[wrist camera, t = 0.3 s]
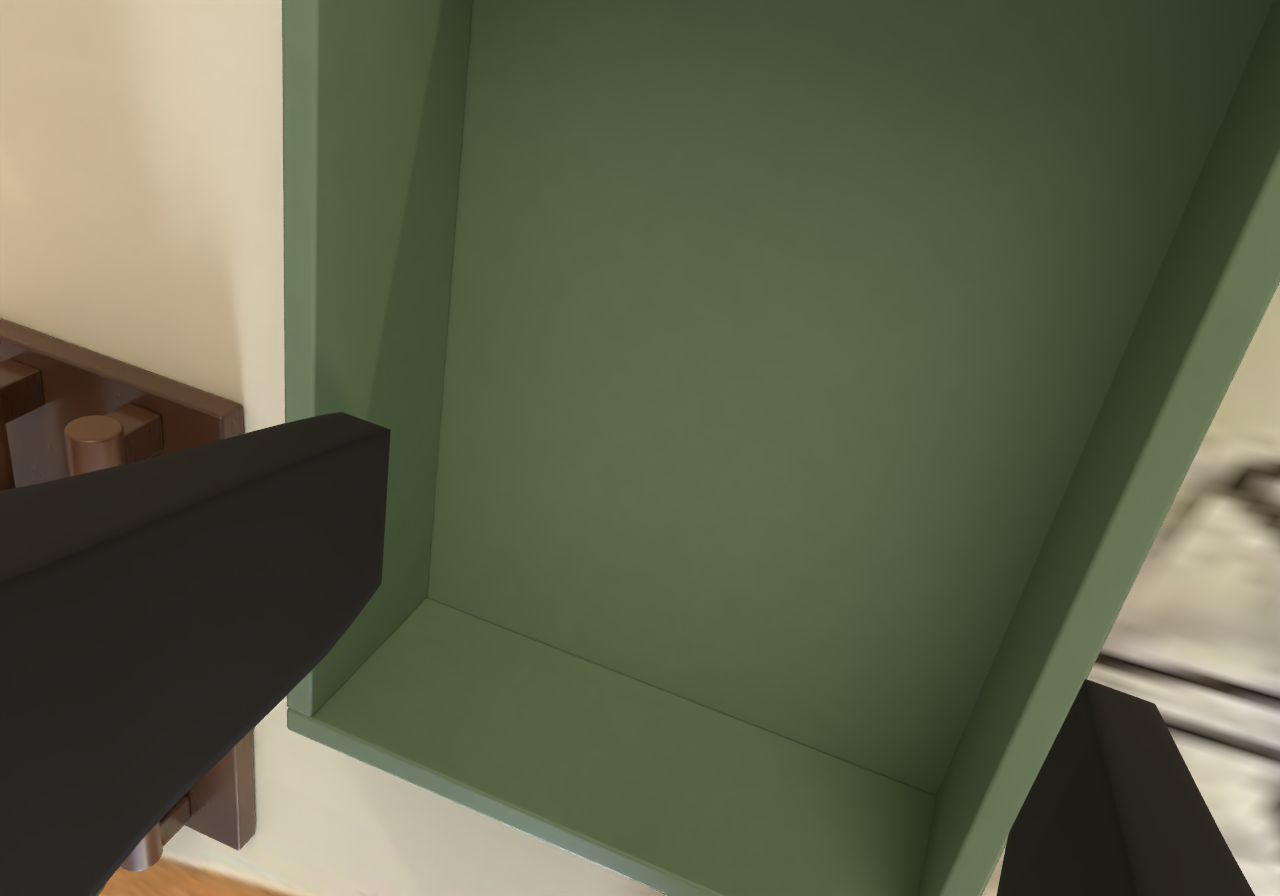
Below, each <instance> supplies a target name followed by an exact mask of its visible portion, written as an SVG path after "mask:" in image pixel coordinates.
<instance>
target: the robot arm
mask: <svg viewBox="0 0 1280 896" xmlns="http://www.w3.org/2000/svg"><path fill="white" fill-rule="evenodd" d="M390 433H391V429H388V428H385V427H382V426H380V425H377V424H374V423H371V422H368V421H366V420H363V419H360V418H357V417H355V416H352V415H349V414H346V413H343V412H337V413H331V414H325V415H320V416H315V417H310V418H306V419H301V420H297V421H293V422H289V423H285V424H281V425H276V426H273V427H269V428H265V429H261V430H257V431H253V432H249V433H246V434H242V435H238V436H234V437H230V438H227V439H223V440H219V441H215V442H211V443H207V444H203V445H200V446H196V447H192V448H188V449H184V450H180V451H177V452H173V453H169V454H165V455H161V456H157V457H153V458H149V459H145V460H141V461H137V462H132V463H128V464H124V465H119V466H115V467H110V468H106V469H101V470H97V471H92V472H88V473H84V474H79V475H75V476H70V477H66V478H61V479H57V480H52V481H48V482H44V483H39V484H34V485H29V486H24V487H18V488H13V489H8V490H2V491H0V896H95V895H96V894H97V893H98V892H99V891H100V889H101V888H102V887H103V886H104V885H105V883H106V882H107V881H108V880H109V879H110V877H111V876H112V875H113V874H114V873H115V871H116V870H117V869H118V868H119V867H120V866H121V864H122V863H123V862H124V861H125V860H126V858H127V857H128V856H129V855H130V854H131V852H132V851H133V850H134V849H135V848H136V846H137V845H138V844H139V843H140V842H141V840H142V839H143V838H144V837H145V836H146V835H147V834H148V833H149V832H150V831H151V829H152V828H153V827H154V826H155V825H156V824H157V823H158V822H159V821H160V820H161V819H162V818H163V817H164V816H165V815H166V814H167V813H168V811H169V810H170V809H171V808H172V807H173V806H174V805H175V804H176V803H177V802H178V801H179V800H180V799H181V798H182V797H183V796H184V795H185V794H186V793H187V792H188V791H189V790H190V789H191V788H192V787H193V786H194V785H195V784H196V783H197V782H198V781H199V780H200V779H201V778H203V777H204V776H205V775H206V774H207V773H208V772H209V771H210V770H211V769H212V768H213V767H214V766H215V765H216V764H217V763H218V762H219V761H220V760H221V759H222V758H223V757H224V756H225V755H226V754H227V753H228V752H229V751H230V750H231V749H232V748H233V747H234V746H235V745H236V744H237V743H238V742H239V741H240V740H241V739H243V738H244V737H245V736H246V735H247V734H248V733H249V732H250V731H251V730H252V729H253V728H254V727H255V726H256V725H257V724H258V723H259V722H260V721H261V720H262V719H263V718H264V717H265V716H266V715H267V714H268V713H269V712H270V711H271V710H272V709H273V708H274V707H275V706H276V705H277V704H278V703H279V702H280V701H281V700H282V699H283V698H284V697H285V696H286V695H287V694H288V693H289V692H290V691H291V690H292V689H293V688H294V687H295V686H296V685H297V684H299V683H300V682H301V681H302V680H303V679H304V678H305V677H306V676H307V675H308V674H309V673H310V672H311V671H312V670H313V669H314V667H315V666H316V665H317V664H318V663H319V662H320V661H321V660H322V659H323V658H324V657H325V656H326V655H327V654H328V653H329V652H330V650H331V649H332V648H333V647H334V645H335V644H336V643H337V642H338V640H339V639H340V638H341V637H342V635H343V634H344V633H345V632H346V630H347V629H348V628H349V627H350V625H351V624H352V623H353V622H354V620H355V619H356V617H357V616H358V615H359V613H360V612H361V611H362V609H363V608H364V607H365V605H366V604H367V603H368V601H369V600H370V599H371V597H372V596H373V595H374V593H375V592H376V590H377V589H378V588H379V586H380V585H381V584H382V568H383V551H384V535H385V518H386V501H387V484H388V467H389V450H390ZM997 896H1255V895H1254V893H1253V891H1252V889H1251V887H1250V886H1249V884H1248V882H1247V880H1246V878H1245V877H1244V875H1243V873H1242V871H1241V869H1240V868H1239V866H1238V864H1237V862H1236V860H1235V859H1234V857H1233V855H1232V853H1231V851H1230V849H1229V847H1228V846H1227V844H1226V842H1225V840H1224V838H1223V836H1222V834H1221V832H1220V830H1219V828H1218V827H1217V825H1216V823H1215V821H1214V819H1213V817H1212V815H1211V813H1210V811H1209V809H1208V807H1207V805H1206V803H1205V801H1204V799H1203V797H1202V795H1201V793H1200V792H1199V790H1198V788H1197V786H1196V784H1195V782H1194V780H1193V778H1192V776H1191V774H1190V772H1189V770H1188V768H1187V766H1186V764H1185V762H1184V760H1183V758H1182V756H1181V754H1180V752H1179V750H1178V748H1177V746H1176V744H1175V742H1174V740H1173V738H1172V736H1171V734H1170V732H1169V730H1168V728H1167V726H1166V724H1165V722H1164V720H1163V718H1162V716H1161V714H1160V712H1159V711H1158V709H1157V707H1156V705H1155V704H1154V703H1151V702H1148V701H1145V700H1143V699H1140V698H1137V697H1134V696H1132V695H1129V694H1126V693H1123V692H1120V691H1118V690H1115V689H1112V688H1109V687H1107V686H1104V685H1101V684H1098V683H1095V682H1093V681H1090V680H1087V679H1085V680H1084V682H1083V684H1082V686H1081V688H1080V690H1079V692H1078V694H1077V696H1076V698H1075V700H1074V702H1073V704H1072V706H1071V708H1070V710H1069V712H1068V714H1067V716H1066V718H1065V720H1064V722H1063V724H1062V726H1061V728H1060V730H1059V732H1058V734H1057V736H1056V738H1055V740H1054V742H1053V744H1052V747H1051V749H1050V751H1049V753H1048V755H1047V757H1046V759H1045V761H1044V763H1043V765H1042V767H1041V769H1040V771H1039V773H1038V775H1037V777H1036V779H1035V781H1034V783H1033V785H1032V787H1031V789H1030V791H1029V793H1028V795H1027V797H1026V799H1025V801H1024V803H1023V805H1022V807H1021V809H1020V811H1019V813H1018V815H1017V817H1016V819H1015V821H1014V823H1013V825H1012V827H1011V829H1010V831H1009V834H1008V839H1007V844H1006V849H1005V855H1004V860H1003V865H1002V871H1001V876H1000V881H999V886H998V892H997Z"/></svg>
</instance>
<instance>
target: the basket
mask: <svg viewBox="0 0 1280 896" xmlns="http://www.w3.org/2000/svg"><path fill="white" fill-rule="evenodd" d="M282 47H283V189H284V331H285V423H289V422H293V421H297V420H301V419H306V418H310V417H315V416H320V415H325V414H331V413H337V412H343V413H346V414H349V415H352V416H355V417H357V418H360V419H363V420H366V421H368V422H371V423H374V424H377V425H380V426H382V427H385V428H388V429H391V433H390V450H389V467H388V484H387V501H386V518H385V535H384V551H383V568H382V584H381V585H380V586H379V588H378V589H377V590H376V592H375V593H374V595H373V596H372V597H371V599H370V600H369V601H368V603H367V604H366V605H365V607H364V608H363V609H362V611H361V612H360V613H359V615H358V616H357V617H356V619H355V620H354V622H353V623H352V624H351V625H350V627H349V628H348V629H347V630H346V632H345V633H344V634H343V635H342V637H341V638H340V639H339V640H338V642H337V643H336V644H335V645H334V647H333V648H332V649H331V650H330V652H329V653H328V654H327V655H326V656H325V657H324V658H323V659H322V660H321V661H320V662H319V663H318V664H317V665H316V666H315V667H314V669H313V670H312V671H311V672H310V673H309V674H308V675H307V676H306V677H305V678H304V679H303V680H302V681H301V682H300V683H299V684H297V685H296V686H295V687H294V688H293V689H292V690H291V691H290V692H289V693H288V694H287V706H288V707H289V708H288V710H287V727H288V729H289V730H291V731H294V732H296V733H298V734H300V735H303V736H305V737H307V738H310V739H312V740H314V741H316V742H319V743H321V744H323V745H326V746H328V747H330V748H332V749H335V750H337V751H339V752H342V753H344V754H346V755H348V756H351V757H353V758H355V759H358V760H360V761H362V762H364V763H367V764H369V765H371V766H374V767H376V768H378V769H381V770H383V771H385V772H387V773H390V774H392V775H394V776H397V777H399V778H401V779H403V780H406V781H408V782H410V783H413V784H415V785H417V786H419V787H422V788H424V789H426V790H429V791H431V792H433V793H435V794H438V795H440V796H442V797H445V798H447V799H449V800H451V801H454V802H456V803H458V804H461V805H463V806H465V807H467V808H470V809H472V810H474V811H477V812H479V813H481V814H483V815H486V816H488V817H490V818H493V819H495V820H497V821H499V822H502V823H504V824H506V825H509V826H511V827H513V828H515V829H518V830H520V831H522V832H525V833H527V834H529V835H531V836H534V837H536V838H538V839H541V840H543V841H545V842H547V843H550V844H552V845H554V846H557V847H559V848H561V849H564V850H566V851H568V852H570V853H573V854H575V855H577V856H580V857H582V858H584V859H586V860H589V861H591V862H593V863H596V864H598V865H600V866H602V867H605V868H607V869H609V870H612V871H614V872H616V873H618V874H621V875H623V876H625V877H628V878H630V879H632V880H634V881H637V882H639V883H641V884H644V885H646V886H648V887H650V888H653V889H655V890H657V891H660V892H662V893H664V894H666V895H669V896H982V893H983V891H984V889H985V887H986V885H987V883H988V881H989V879H990V877H991V875H992V873H993V871H994V869H995V867H996V865H997V863H998V861H999V859H1000V856H1001V854H1002V852H1003V850H1004V848H1005V846H1006V844H1007V839H1008V834H1009V831H1010V829H1011V827H1012V825H1013V823H1014V821H1015V819H1016V817H1017V815H1018V813H1019V811H1020V809H1021V807H1022V805H1023V803H1024V801H1025V799H1026V797H1027V795H1028V793H1029V791H1030V789H1031V787H1032V785H1033V783H1034V781H1035V779H1036V777H1037V775H1038V773H1039V771H1040V769H1041V767H1042V765H1043V763H1044V761H1045V759H1046V757H1047V755H1048V753H1049V751H1050V749H1051V747H1052V744H1053V742H1054V740H1055V738H1056V736H1057V734H1058V732H1059V730H1060V728H1061V726H1062V724H1063V722H1064V720H1065V718H1066V716H1067V714H1068V712H1069V710H1070V708H1071V706H1072V704H1073V702H1074V700H1075V698H1076V696H1077V694H1078V692H1079V690H1080V688H1081V686H1082V684H1083V682H1084V680H1085V679H1087V677H1088V675H1089V673H1090V671H1091V669H1092V667H1093V665H1094V663H1095V661H1096V659H1097V657H1098V655H1099V653H1100V651H1101V649H1102V647H1103V645H1104V643H1105V640H1106V638H1107V636H1108V634H1109V632H1110V630H1111V628H1112V626H1113V624H1114V622H1115V620H1116V618H1117V616H1118V614H1119V612H1120V610H1121V608H1122V605H1123V603H1124V601H1125V599H1126V597H1127V595H1128V593H1129V591H1130V589H1131V587H1132V585H1133V583H1134V581H1135V579H1136V577H1137V575H1138V573H1139V571H1140V568H1141V566H1142V564H1143V562H1144V560H1145V558H1146V556H1147V554H1148V552H1149V550H1150V548H1151V546H1152V544H1153V542H1154V540H1155V538H1156V536H1157V533H1158V531H1159V529H1160V527H1161V525H1162V523H1163V521H1164V519H1165V517H1166V515H1167V513H1168V511H1169V509H1170V507H1171V505H1172V503H1173V501H1174V498H1175V496H1176V494H1177V492H1178V490H1179V488H1180V486H1181V484H1182V482H1183V480H1184V478H1185V476H1186V474H1187V472H1188V470H1189V468H1190V466H1191V464H1192V461H1193V459H1194V457H1195V455H1196V453H1197V451H1198V449H1199V447H1200V445H1201V443H1202V441H1203V439H1204V437H1205V435H1206V433H1207V431H1208V429H1209V426H1210V424H1211V422H1212V420H1213V418H1214V416H1215V414H1216V412H1217V410H1218V408H1219V406H1220V404H1221V402H1222V400H1223V398H1224V396H1225V394H1226V392H1227V389H1228V387H1229V385H1230V383H1231V381H1232V379H1233V377H1234V375H1235V373H1236V371H1237V369H1238V367H1239V365H1240V363H1241V361H1242V359H1243V357H1244V354H1245V352H1246V350H1247V348H1248V346H1249V344H1250V342H1251V340H1252V338H1253V336H1254V334H1255V332H1256V330H1257V328H1258V326H1259V324H1260V322H1261V320H1262V317H1263V315H1264V313H1265V311H1266V309H1267V307H1268V305H1269V303H1270V301H1271V299H1272V297H1273V295H1274V293H1275V291H1276V289H1277V287H1278V285H1279V282H1280V0H282Z"/></svg>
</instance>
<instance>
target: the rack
mask: <svg viewBox="0 0 1280 896" xmlns="http://www.w3.org/2000/svg"><path fill="white" fill-rule="evenodd" d="M242 434H244V427H243V407H242V405H241V404H238V403H236V402H233V401H230V400H227V399H224V398H222V397H219V396H216V395H213V394H211V393H208V392H205V391H202V390H199V389H197V388H194V387H191V386H188V385H185V384H183V383H180V382H177V381H174V380H171V379H169V378H166V377H163V376H160V375H158V374H155V373H152V372H149V371H146V370H144V369H141V368H138V367H135V366H132V365H130V364H127V363H124V362H121V361H118V360H116V359H113V358H110V357H107V356H105V355H102V354H99V353H96V352H93V351H91V350H88V349H85V348H82V347H79V346H77V345H74V344H71V343H68V342H65V341H63V340H60V339H57V338H54V337H52V336H49V335H46V334H43V333H40V332H38V331H35V330H32V329H29V328H26V327H24V326H21V325H18V324H15V323H12V322H10V321H7V320H4V319H1V318H0V491H2V490H8V489H13V488H18V487H24V486H29V485H34V484H39V483H44V482H48V481H52V480H57V479H61V478H66V477H70V476H75V475H79V474H84V473H88V472H92V471H97V470H101V469H106V468H110V467H115V466H119V465H124V464H128V463H132V462H137V461H141V460H145V459H149V458H153V457H157V456H161V455H165V454H169V453H173V452H177V451H180V450H184V449H188V448H192V447H196V446H200V445H203V444H207V443H211V442H215V441H219V440H223V439H227V438H230V437H234V436H238V435H242ZM184 825H185V826H188V827H190V828H192V829H194V830H196V831H198V832H200V833H202V834H204V835H206V836H209V837H211V838H213V839H215V840H217V841H219V842H221V843H223V844H225V845H228V846H230V847H232V848H234V849H236V850H240V849H241V848H242V847H243V846H244V845H245V844H246V843H247V842H248V841H249V840H250V838H251V837H252V836H253V835H254V834H255V803H254V769H253V735H252V730H251V731H250V732H249V733H248V734H247V735H246V736H245V737H244V738H243V739H241V740H240V741H239V742H238V743H237V744H236V745H235V746H234V747H233V748H232V749H231V750H230V751H229V752H228V753H227V754H226V755H225V756H224V757H223V758H222V759H221V760H220V761H219V762H218V763H217V764H216V765H215V766H214V767H213V768H212V769H211V770H210V771H209V772H208V773H207V774H206V775H205V776H204V777H203V778H201V779H200V780H199V781H198V782H197V783H196V784H195V785H194V786H193V787H192V788H191V789H190V790H189V791H188V792H187V793H186V794H185V795H184V796H183V797H182V798H181V799H180V800H179V801H178V802H177V803H176V804H175V805H174V806H173V807H172V808H171V809H170V810H169V811H168V813H167V814H166V815H165V816H164V817H163V818H162V819H161V820H160V821H159V822H158V823H157V824H156V825H155V826H154V827H153V828H152V829H151V831H150V832H149V833H148V834H147V835H146V836H145V837H144V838H143V839H142V840H141V842H140V843H139V844H138V845H137V846H136V848H135V849H134V850H133V851H132V852H131V854H130V855H129V856H128V857H127V858H126V860H125V861H124V862H123V863H122V864H121V867H123V868H124V869H126V870H128V871H142V870H145V869H148V868H150V867H151V866H153V865H154V864H155V863H156V862H157V861H158V860H159V859H160V857H161V855H162V852H163V846H164V845H165V844H166V843H167V842H168V841H169V840H170V839H171V838H172V837H173V836H174V835H175V834H176V833H177V832H178V831H179V830H180V829H181V828H182V827H183V826H184Z"/></svg>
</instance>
